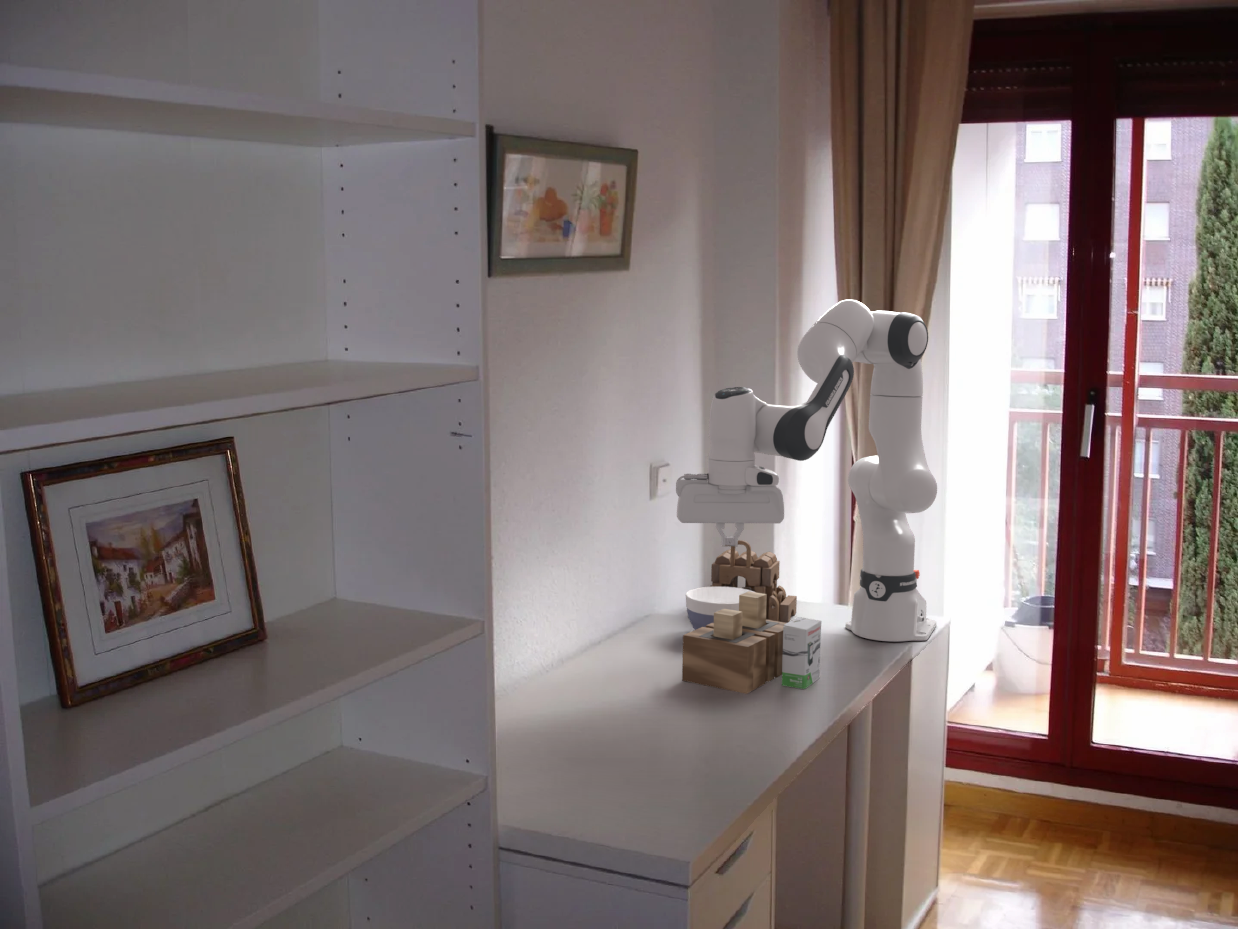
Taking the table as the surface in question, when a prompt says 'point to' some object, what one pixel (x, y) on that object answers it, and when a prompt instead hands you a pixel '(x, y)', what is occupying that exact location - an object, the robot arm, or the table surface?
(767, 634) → the socket block
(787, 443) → the robot arm
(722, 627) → the peg
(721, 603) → the bowl
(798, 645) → the ink box
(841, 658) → the table surface
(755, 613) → the peg
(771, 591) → the wooden puzzle
